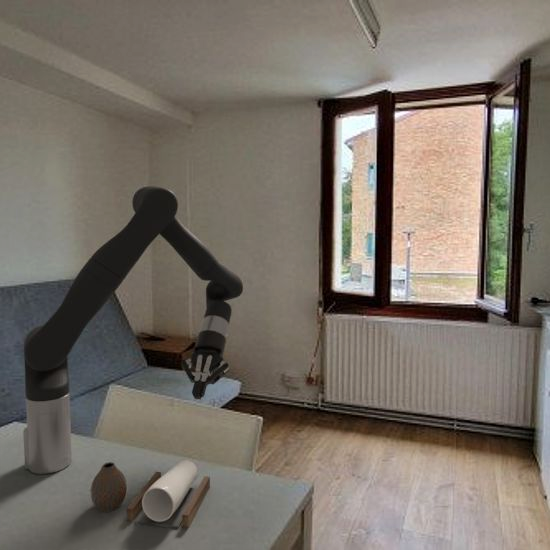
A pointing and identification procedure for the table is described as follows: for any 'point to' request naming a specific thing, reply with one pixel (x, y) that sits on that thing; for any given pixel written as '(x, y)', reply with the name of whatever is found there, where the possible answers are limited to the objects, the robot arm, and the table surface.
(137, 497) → the cradle
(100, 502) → the vase
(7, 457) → the table surface
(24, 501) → the table surface
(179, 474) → the white cup
